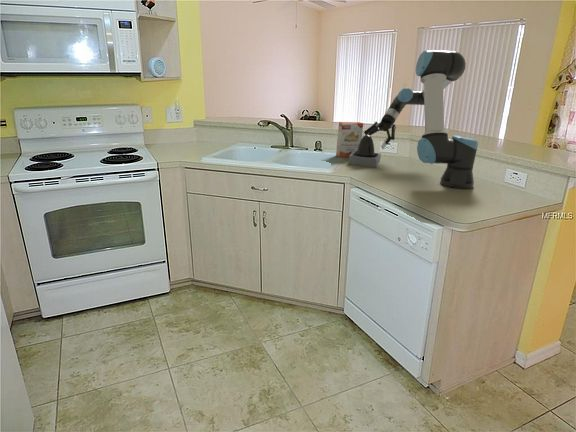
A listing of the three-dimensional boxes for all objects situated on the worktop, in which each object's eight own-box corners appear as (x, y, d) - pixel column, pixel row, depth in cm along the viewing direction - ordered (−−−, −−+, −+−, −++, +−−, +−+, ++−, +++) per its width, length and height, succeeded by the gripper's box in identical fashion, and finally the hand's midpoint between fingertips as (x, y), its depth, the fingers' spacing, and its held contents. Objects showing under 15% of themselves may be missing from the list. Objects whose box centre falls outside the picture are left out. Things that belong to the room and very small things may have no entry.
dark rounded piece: (372, 159, 233) (375, 134, 227) (374, 163, 223) (377, 137, 218) (355, 158, 234) (357, 133, 228) (356, 162, 224) (359, 136, 219)
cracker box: (339, 157, 240) (342, 123, 232) (335, 155, 245) (338, 121, 238) (360, 157, 244) (363, 122, 236) (356, 154, 249) (359, 121, 241)
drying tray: (375, 167, 220) (376, 158, 218) (348, 164, 225) (349, 155, 223) (380, 161, 233) (381, 153, 231) (354, 158, 238) (355, 150, 236)
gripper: (410, 124, 229) (392, 153, 224) (374, 119, 245) (357, 146, 241) (406, 116, 223) (388, 145, 219) (370, 111, 240) (353, 138, 235)
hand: (372, 145), depth 230 cm, fingers open, 13 cm apart
